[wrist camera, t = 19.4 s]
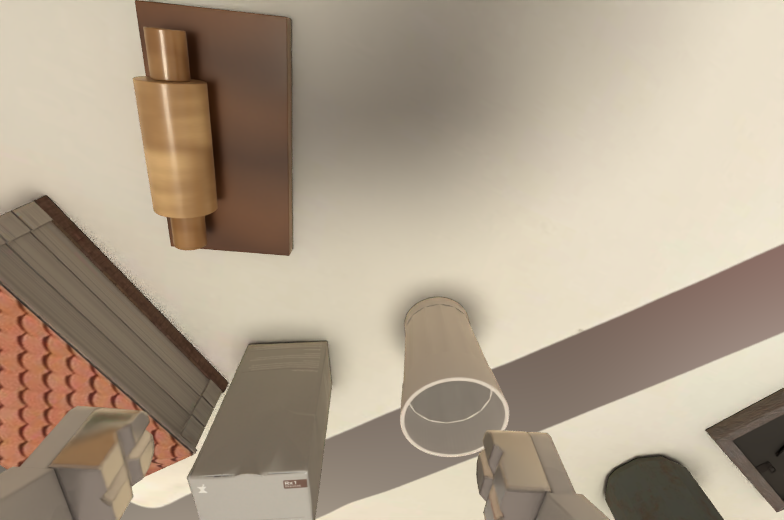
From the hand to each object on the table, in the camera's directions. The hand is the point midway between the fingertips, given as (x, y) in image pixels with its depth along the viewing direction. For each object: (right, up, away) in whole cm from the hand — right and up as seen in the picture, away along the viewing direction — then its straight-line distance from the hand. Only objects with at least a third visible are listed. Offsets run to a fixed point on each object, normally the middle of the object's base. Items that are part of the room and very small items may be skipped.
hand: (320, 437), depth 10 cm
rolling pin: (-12, +13, +21) cm, 28 cm away
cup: (+6, -2, +31) cm, 32 cm away
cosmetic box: (-8, -6, +33) cm, 35 cm away
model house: (-28, -3, +31) cm, 42 cm away
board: (-11, +14, +23) cm, 29 cm away
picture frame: (+49, -17, +40) cm, 65 cm away
